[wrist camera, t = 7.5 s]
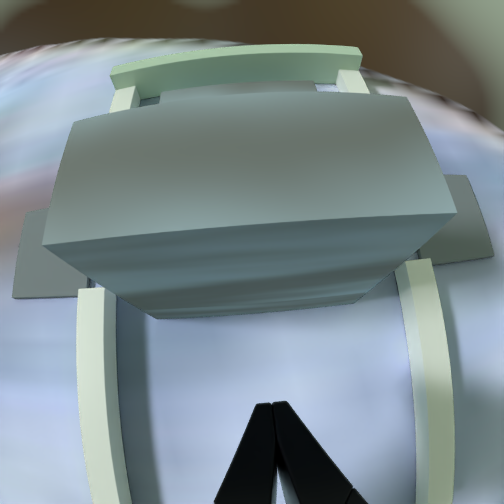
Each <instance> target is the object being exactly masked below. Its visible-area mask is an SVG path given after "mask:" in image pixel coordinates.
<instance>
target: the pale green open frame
mask: <svg viewBox="0 0 504 504" xmlns="http://www.w3.org/2000/svg"><path fill="white" fill-rule="evenodd" d="M361 59H362V54H361V52H360V51H359V49H358V48H357V47H349V46H334V45H311V44H274V45H250V46H235V47H224V48H214V49H205V50H197V51H190V52H183V53H177V54H171V55H165V56H159V57H154V58H149V59H144V60H140V61H135V62H131V63H126V64H122V65H118V66H114V67H113V68H112V71H111V74H110V78H111V80H112V82H113V85H114V87H115V89H116V91H115V94H114V97H113V101H112V104H111V108H110V111H109V113H113V112H117V111H122V110H127V109H132V108H137V107H139V105H140V100H141V99H147V98H152V97H158V96H160V95H161V92H164V91H171V90H177V89H184V88H192V87H200V86H208V85H218V84H229V83H242V82H258V81H288V80H313V81H314V83H319V84H336V86H337V88H338V91H339V92H349V93H367V94H370V92H369V90H368V88H367V86H366V84H365V82H364V80H363V78H362V76H361V74H360V72H359V67H360V64H361ZM394 272H395V276H396V281H397V286H398V291H399V296H400V302H401V307H402V313H403V319H404V325H405V332H406V338H407V345H408V353H409V360H410V369H411V378H412V388H413V400H414V413H415V431H416V503H415V504H452V501H453V488H454V469H455V424H454V403H453V389H452V378H451V368H450V360H449V352H448V345H447V338H446V331H445V325H444V319H443V314H442V308H441V303H440V298H439V293H438V288H437V284H436V279H435V275H434V271H433V267H432V262H431V258H427V259H419V260H410V261H405V262H404V263H402V264H401V265H400V266H399V267H398V268H397V269H395V270H394ZM76 355H77V387H78V403H79V415H80V426H81V435H82V443H83V451H84V458H85V464H86V470H87V476H88V482H89V487H90V492H91V497H92V501H93V504H132V500H131V495H130V489H129V484H128V478H127V471H126V465H125V457H124V450H123V442H122V433H121V423H120V412H119V399H118V384H117V361H116V295H115V294H114V293H112V292H110V291H109V290H107V289H106V288H104V287H101V288H84V289H78V304H77V336H76Z"/></svg>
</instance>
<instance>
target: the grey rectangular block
mask: <svg viewBox="0 0 504 504" xmlns="http://www.w3.org/2000/svg"><path fill="white" fill-rule="evenodd" d="M456 214H457V210H456V207H455V204H454V202H453V199H452V196H451V193H450V191H449V188H448V185H447V183H446V180H445V178H444V175H443V173H442V170H441V168H440V165H439V163H438V161H437V158H436V156H435V154H434V152H433V149H432V147H431V145H430V143H429V140H428V138H427V136H426V134H425V132H424V130H423V128H422V126H421V124H420V122H419V120H418V118H417V116H416V114H415V112H414V110H413V108H412V106H411V104H410V102H409V101H408V99H407V97H401V96H391V95H380V94H367V93H349V92H317V89H316V86H315V83H314V81H313V80H288V81H258V82H242V83H229V84H218V85H208V86H200V87H192V88H184V89H177V90H171V91H164V92H161V95H160V101H159V104H154V105H148V106H142V107H137V108H132V109H127V110H122V111H117V112H113V113H108V114H104V115H100V116H95V117H91V118H87V119H83V120H80V121H76V122H74V123H73V126H72V128H71V131H70V134H69V137H68V140H67V143H66V147H65V150H64V153H63V156H62V160H61V163H60V167H59V170H58V174H57V177H56V181H55V185H54V189H53V193H52V197H51V202H50V206H49V211H48V215H47V220H46V225H45V230H44V236H43V241H42V246H43V247H45V248H46V249H48V250H49V251H50V252H52V253H53V254H55V255H56V256H57V257H59V258H60V259H62V260H63V261H65V262H66V263H68V264H69V265H71V266H72V267H73V268H75V269H76V270H78V271H79V272H81V273H82V274H84V275H85V276H87V277H89V278H90V279H92V280H93V281H95V282H96V283H98V284H99V285H101V286H103V287H104V288H106V289H107V290H109V291H110V292H112V293H114V294H115V295H117V296H119V297H120V298H122V299H123V300H125V301H127V302H128V303H130V304H132V305H133V306H135V307H137V308H138V309H140V310H142V311H144V312H145V313H147V314H149V315H150V316H152V317H154V318H156V319H174V318H195V317H212V316H228V315H242V314H255V313H267V312H278V311H289V310H299V309H309V308H318V307H327V306H336V305H344V304H353V303H354V302H356V301H357V300H358V299H360V298H361V297H362V296H363V295H365V294H366V293H367V292H368V291H370V290H371V289H372V288H373V287H374V286H376V285H377V284H378V283H379V282H381V281H382V280H383V279H384V278H385V277H387V276H388V275H389V274H390V273H391V272H393V271H394V270H395V269H396V268H397V267H398V266H400V265H401V264H402V263H403V262H404V261H405V260H407V259H408V258H409V257H410V256H411V255H412V254H413V253H415V252H416V251H417V250H418V249H419V248H420V247H421V246H422V245H424V244H425V243H426V242H427V241H428V240H429V239H430V238H431V237H432V236H433V235H435V234H436V233H437V232H438V231H439V230H440V229H441V228H442V227H443V226H444V225H445V224H446V223H447V222H448V221H450V220H451V219H452V218H453V217H454V216H455V215H456Z"/></svg>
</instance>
